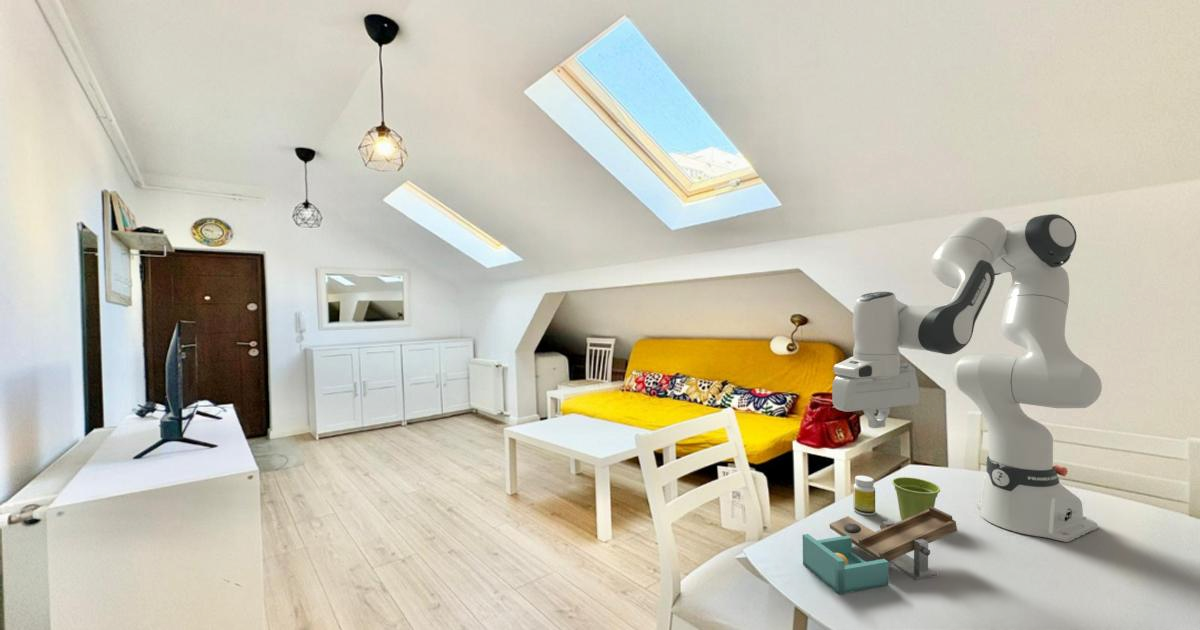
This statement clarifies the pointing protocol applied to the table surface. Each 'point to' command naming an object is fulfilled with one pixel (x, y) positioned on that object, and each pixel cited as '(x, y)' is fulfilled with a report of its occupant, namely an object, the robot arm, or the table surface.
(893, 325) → the robot arm
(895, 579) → the table surface
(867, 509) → the supplement bottle
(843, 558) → the ball
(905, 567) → the fulcrum
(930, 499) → the plant pot
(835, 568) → the teal tray
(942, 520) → the lever
